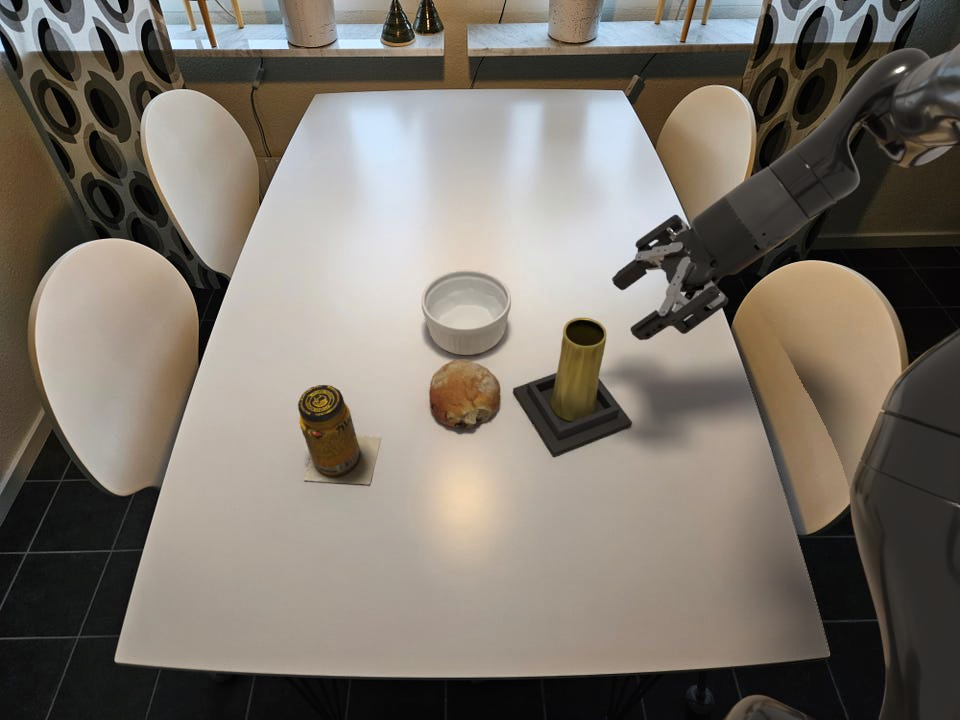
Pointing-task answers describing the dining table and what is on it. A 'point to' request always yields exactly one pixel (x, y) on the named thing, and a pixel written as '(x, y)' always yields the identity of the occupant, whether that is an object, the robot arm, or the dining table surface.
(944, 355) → the robot arm
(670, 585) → the dining table surface
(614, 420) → the base pad
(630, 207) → the dining table surface
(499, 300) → the ramekin
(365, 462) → the condiment
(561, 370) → the vase
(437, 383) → the bread roll
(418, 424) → the dining table surface
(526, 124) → the dining table surface
